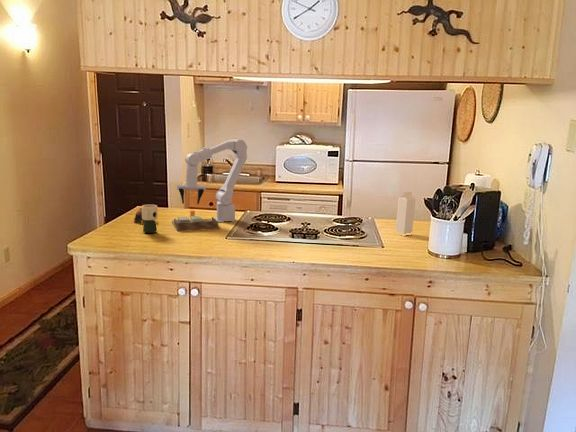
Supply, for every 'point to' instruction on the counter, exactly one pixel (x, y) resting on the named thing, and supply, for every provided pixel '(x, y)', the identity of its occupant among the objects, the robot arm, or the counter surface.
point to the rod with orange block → (194, 217)
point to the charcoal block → (183, 219)
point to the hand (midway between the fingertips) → (190, 203)
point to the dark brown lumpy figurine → (138, 217)
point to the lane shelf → (196, 225)
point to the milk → (405, 213)
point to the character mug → (149, 218)
